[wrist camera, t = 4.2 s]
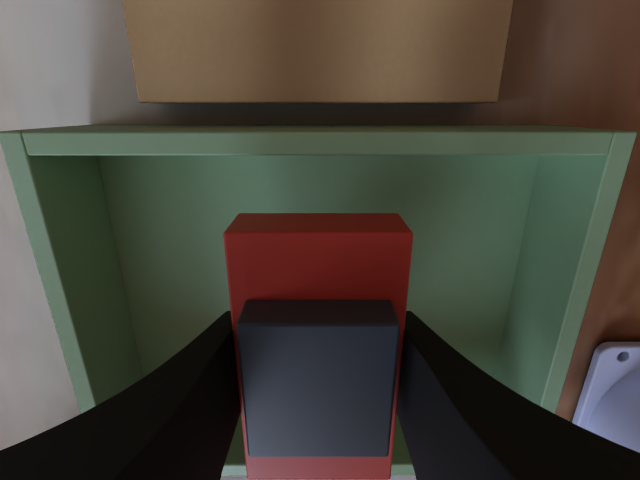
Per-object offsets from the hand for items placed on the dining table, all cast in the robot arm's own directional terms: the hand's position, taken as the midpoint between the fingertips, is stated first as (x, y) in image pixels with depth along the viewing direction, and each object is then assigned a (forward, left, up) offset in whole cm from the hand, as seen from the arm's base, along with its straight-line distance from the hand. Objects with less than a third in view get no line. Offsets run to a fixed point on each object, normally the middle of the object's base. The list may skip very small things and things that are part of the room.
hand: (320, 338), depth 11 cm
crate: (0, 0, -4) cm, 4 cm away
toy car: (0, 0, -1) cm, 1 cm away
